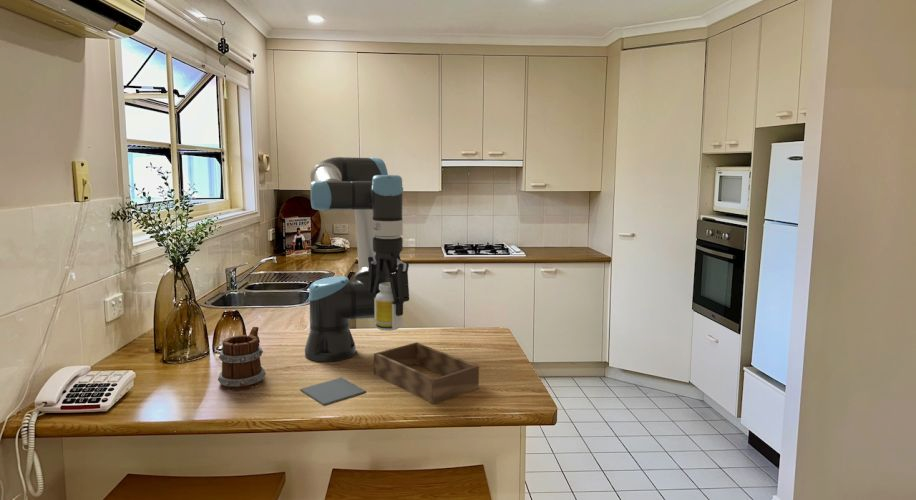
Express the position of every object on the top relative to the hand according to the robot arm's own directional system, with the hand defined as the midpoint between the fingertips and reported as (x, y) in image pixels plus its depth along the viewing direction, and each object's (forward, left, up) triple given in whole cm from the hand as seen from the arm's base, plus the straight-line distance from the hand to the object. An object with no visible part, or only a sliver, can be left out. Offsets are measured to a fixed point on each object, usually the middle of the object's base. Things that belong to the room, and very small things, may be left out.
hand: (388, 323), depth 144 cm
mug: (-28, -27, -17) cm, 42 cm away
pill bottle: (0, 0, -1) cm, 1 cm away
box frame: (+4, +9, -16) cm, 19 cm away
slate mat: (-6, -13, -16) cm, 22 cm away
